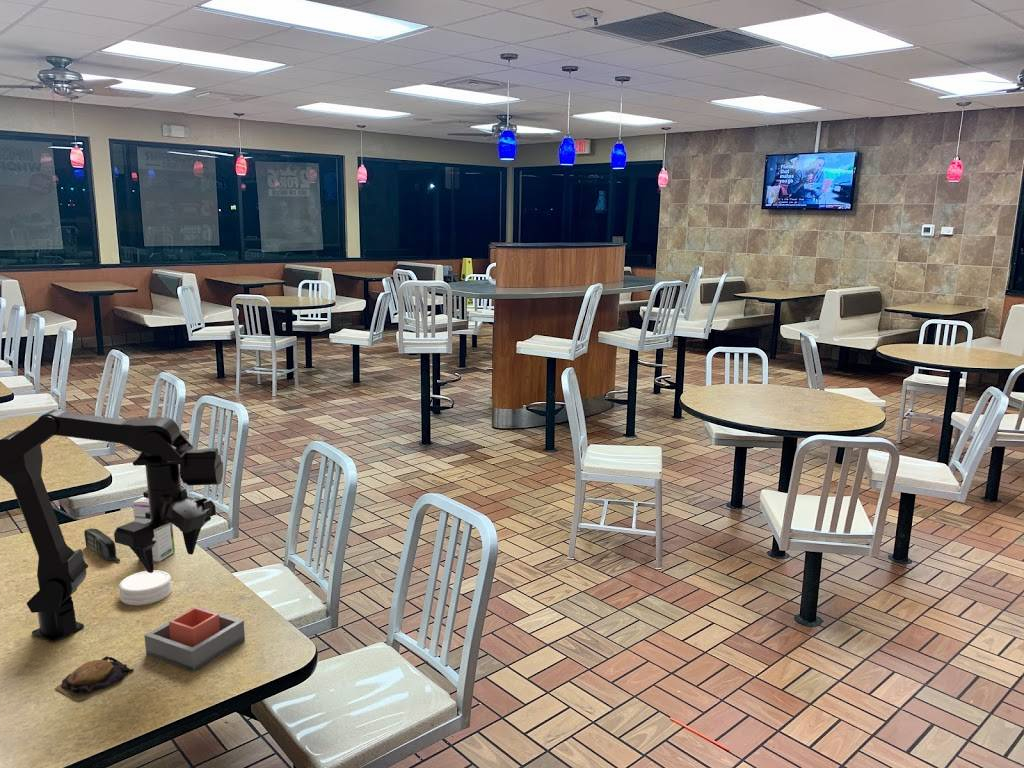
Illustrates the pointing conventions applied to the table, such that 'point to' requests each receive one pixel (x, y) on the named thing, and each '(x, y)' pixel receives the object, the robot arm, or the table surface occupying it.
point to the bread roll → (93, 678)
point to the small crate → (194, 626)
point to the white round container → (145, 587)
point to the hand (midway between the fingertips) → (171, 563)
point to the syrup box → (161, 536)
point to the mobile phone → (100, 544)
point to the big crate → (200, 654)
